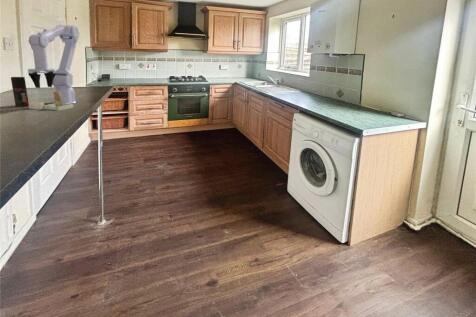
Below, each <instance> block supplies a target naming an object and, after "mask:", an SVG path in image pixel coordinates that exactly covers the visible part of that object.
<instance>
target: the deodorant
mask: <svg viewBox="0 0 476 317" xmlns="http://www.w3.org/2000/svg"><path fill="white" fill-rule="evenodd" d="M10 82H11V87H12V93H13V98H14V104H15V107H18V108H19V107H20V108H21V107H29V102H30V101H29V97H28V90H27V84H26V83H27V82H26V77H25V76H11V77H10Z"/></svg>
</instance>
